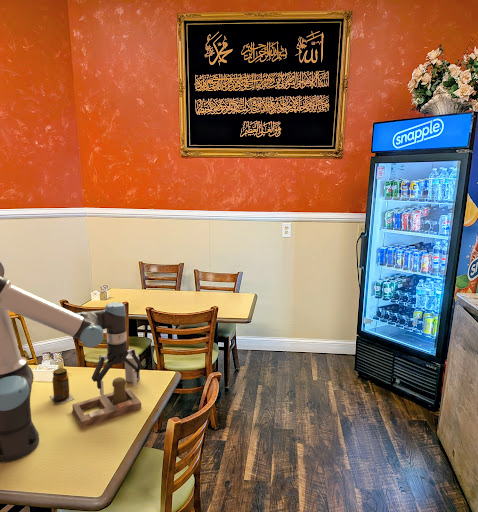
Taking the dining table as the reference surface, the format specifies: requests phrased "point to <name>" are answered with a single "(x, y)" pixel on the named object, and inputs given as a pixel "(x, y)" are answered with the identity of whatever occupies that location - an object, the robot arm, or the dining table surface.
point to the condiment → (61, 387)
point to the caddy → (105, 408)
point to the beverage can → (130, 368)
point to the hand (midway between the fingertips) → (118, 390)
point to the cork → (119, 391)
